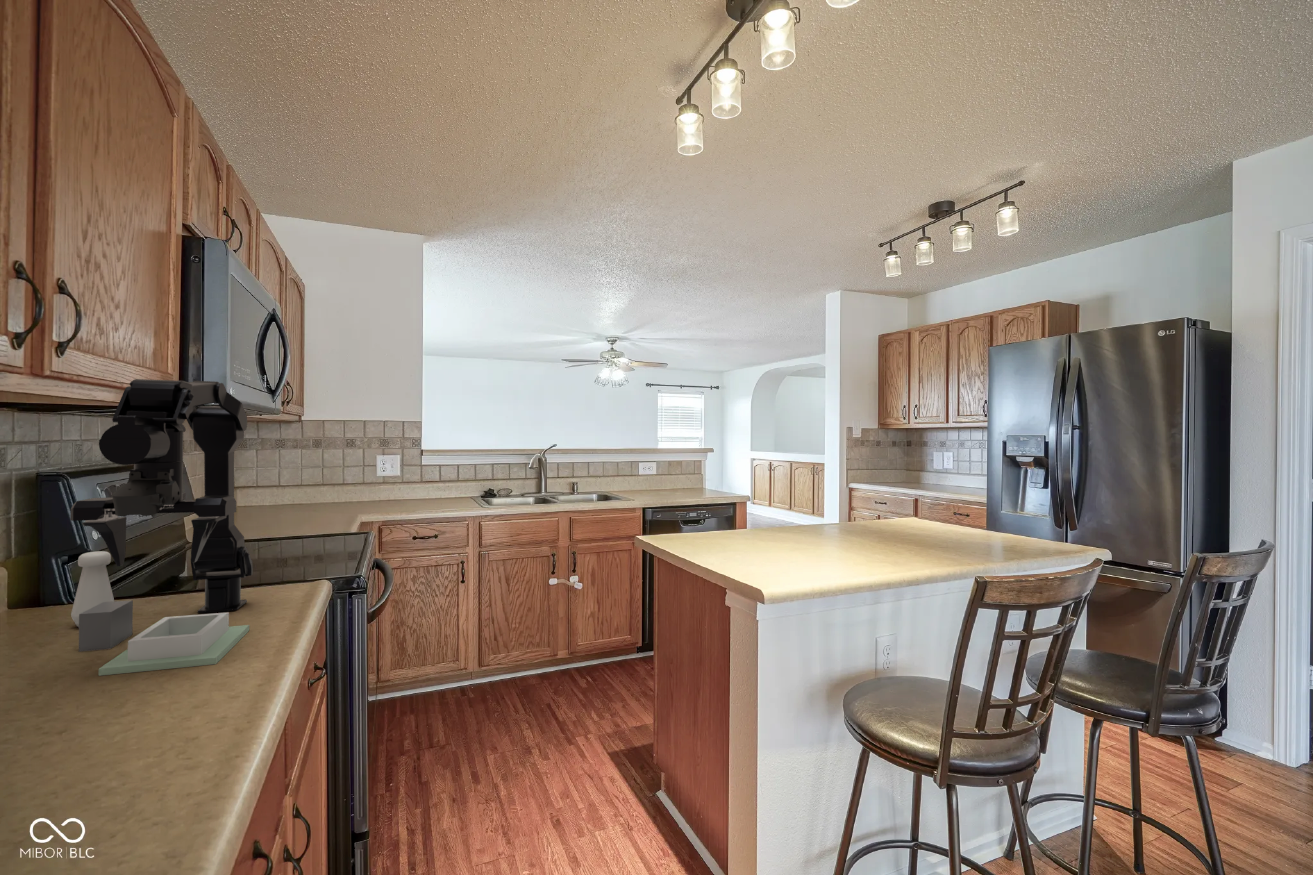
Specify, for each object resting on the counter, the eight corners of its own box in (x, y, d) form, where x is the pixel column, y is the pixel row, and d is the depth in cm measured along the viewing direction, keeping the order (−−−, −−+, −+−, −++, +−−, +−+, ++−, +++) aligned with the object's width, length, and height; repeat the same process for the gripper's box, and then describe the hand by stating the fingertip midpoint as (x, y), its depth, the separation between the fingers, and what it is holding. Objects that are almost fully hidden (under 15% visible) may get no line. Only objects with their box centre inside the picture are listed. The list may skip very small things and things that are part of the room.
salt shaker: (65, 626, 104) (66, 553, 104) (107, 617, 109) (108, 548, 109) (79, 631, 102) (80, 556, 102) (121, 622, 107) (122, 551, 107)
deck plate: (151, 638, 99) (151, 615, 99) (249, 630, 103) (249, 607, 103) (98, 675, 84) (98, 647, 84) (216, 663, 88) (216, 637, 88)
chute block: (102, 637, 99) (103, 602, 99) (132, 635, 101) (132, 600, 101) (78, 652, 93) (79, 614, 93) (110, 649, 94) (110, 611, 94)
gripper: (46, 464, 79) (45, 580, 79) (212, 464, 85) (211, 571, 85) (93, 461, 89) (91, 563, 89) (238, 460, 96) (236, 556, 96)
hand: (157, 563), depth 90 cm, fingers open, 9 cm apart
